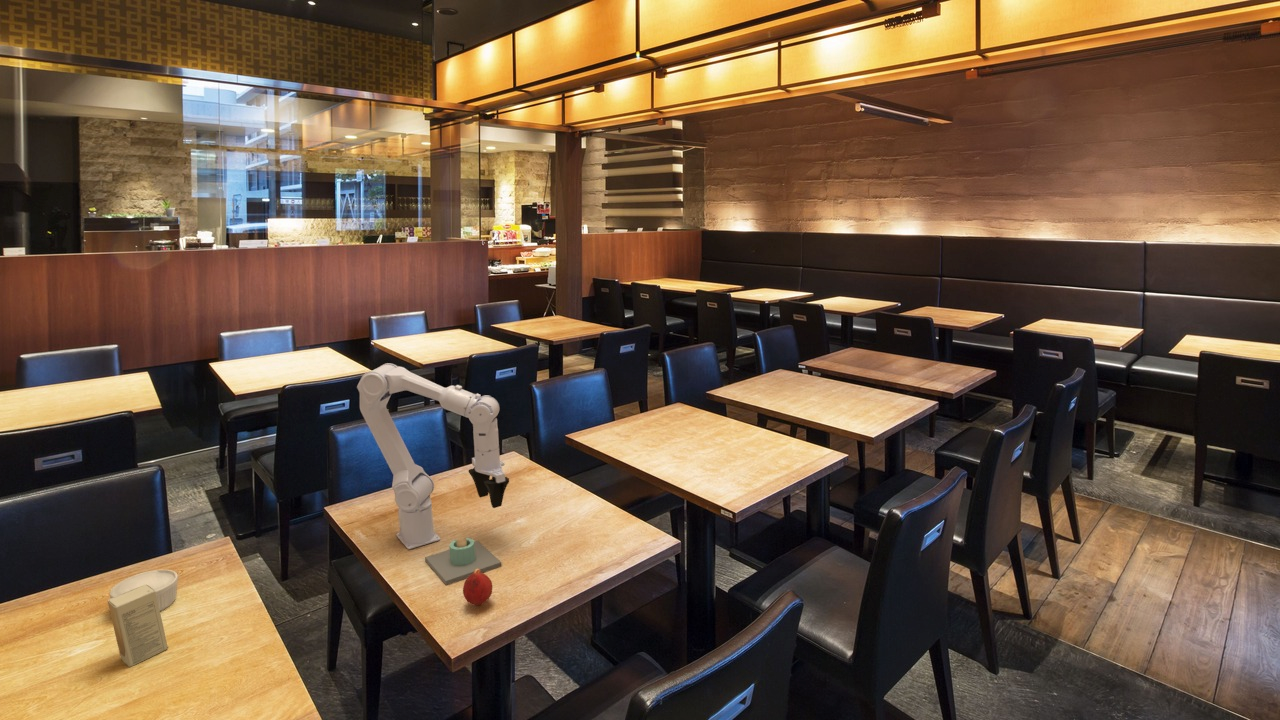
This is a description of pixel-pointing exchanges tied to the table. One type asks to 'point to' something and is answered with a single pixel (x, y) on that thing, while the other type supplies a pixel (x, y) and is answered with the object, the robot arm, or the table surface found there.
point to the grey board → (457, 573)
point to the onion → (477, 588)
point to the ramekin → (151, 585)
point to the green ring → (462, 553)
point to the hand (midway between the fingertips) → (490, 501)
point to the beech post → (461, 542)
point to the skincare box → (137, 624)
